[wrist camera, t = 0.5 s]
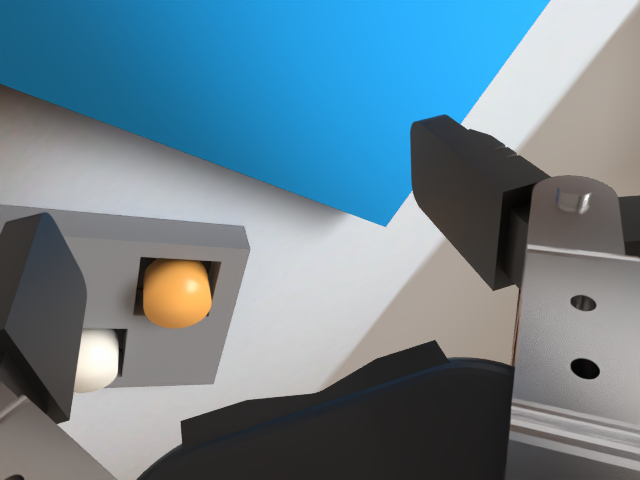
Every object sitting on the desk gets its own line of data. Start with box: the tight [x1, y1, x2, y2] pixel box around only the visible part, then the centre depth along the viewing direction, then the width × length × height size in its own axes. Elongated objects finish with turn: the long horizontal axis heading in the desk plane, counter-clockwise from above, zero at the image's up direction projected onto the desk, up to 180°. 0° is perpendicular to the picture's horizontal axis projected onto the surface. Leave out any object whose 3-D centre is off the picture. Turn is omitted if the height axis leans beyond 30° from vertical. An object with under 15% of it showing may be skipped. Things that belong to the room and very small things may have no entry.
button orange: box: [143, 258, 212, 329], centre depth 32 cm, size 4×4×2 cm
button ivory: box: [74, 328, 119, 393], centre depth 33 cm, size 4×4×2 cm
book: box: [0, 0, 550, 227], centre depth 24 cm, size 17×4×25 cm
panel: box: [0, 205, 250, 388], centre depth 33 cm, size 13×18×2 cm
